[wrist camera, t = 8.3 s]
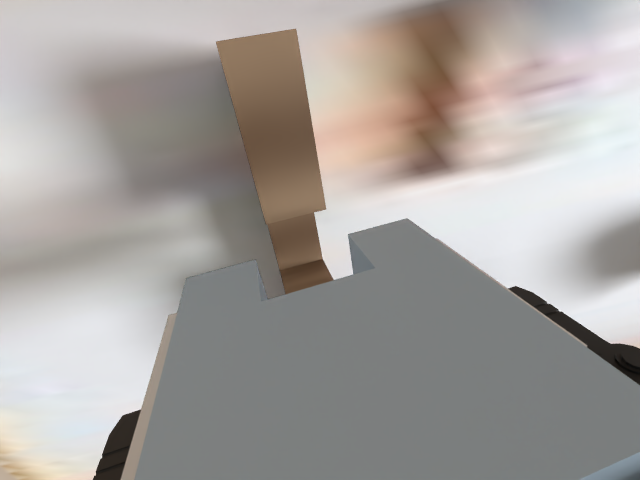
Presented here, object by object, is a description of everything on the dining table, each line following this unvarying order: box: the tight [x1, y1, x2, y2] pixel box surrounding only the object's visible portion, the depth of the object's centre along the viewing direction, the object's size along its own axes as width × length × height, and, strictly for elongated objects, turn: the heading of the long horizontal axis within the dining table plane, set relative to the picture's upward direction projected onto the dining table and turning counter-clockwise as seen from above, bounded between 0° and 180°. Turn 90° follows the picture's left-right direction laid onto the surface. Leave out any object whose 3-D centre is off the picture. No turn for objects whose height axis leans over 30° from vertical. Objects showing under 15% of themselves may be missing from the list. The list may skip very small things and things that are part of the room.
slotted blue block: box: [134, 219, 640, 480], centre depth 10 cm, size 10×4×10 cm, turn 100°
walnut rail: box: [216, 29, 333, 294], centre depth 19 cm, size 20×3×7 cm, turn 10°
